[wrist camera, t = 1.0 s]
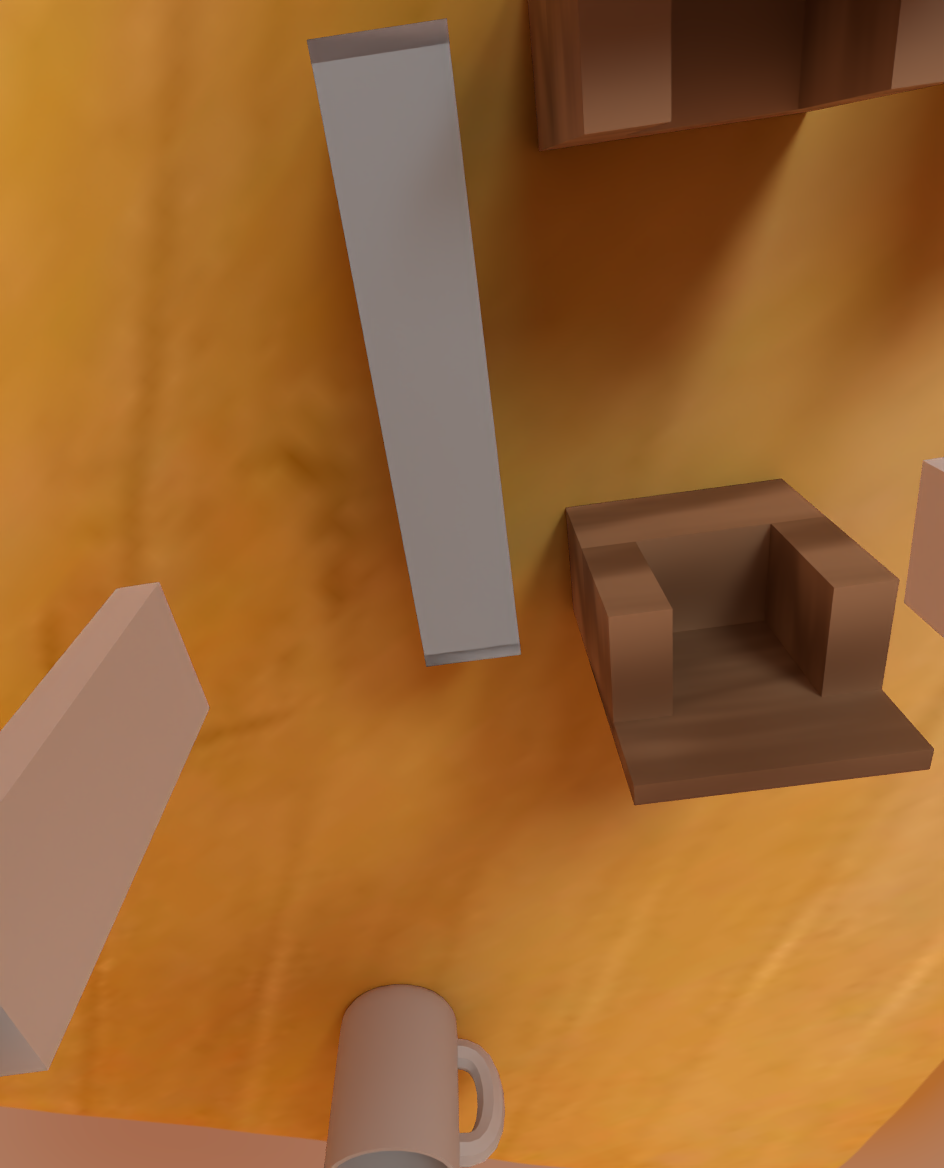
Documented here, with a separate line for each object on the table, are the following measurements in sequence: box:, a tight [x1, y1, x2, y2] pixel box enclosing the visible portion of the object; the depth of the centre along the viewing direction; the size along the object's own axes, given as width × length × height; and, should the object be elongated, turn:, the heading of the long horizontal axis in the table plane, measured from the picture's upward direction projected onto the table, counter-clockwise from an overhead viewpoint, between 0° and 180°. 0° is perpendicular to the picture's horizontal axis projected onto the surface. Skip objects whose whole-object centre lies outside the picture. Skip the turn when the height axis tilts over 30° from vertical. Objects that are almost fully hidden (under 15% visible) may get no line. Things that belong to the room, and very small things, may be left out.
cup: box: [324, 984, 505, 1168], centre depth 43 cm, size 7×10×9 cm
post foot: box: [566, 479, 934, 805], centre depth 27 cm, size 5×9×12 cm, turn 97°
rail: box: [307, 18, 521, 667], centre depth 26 cm, size 19×4×6 cm, turn 7°
